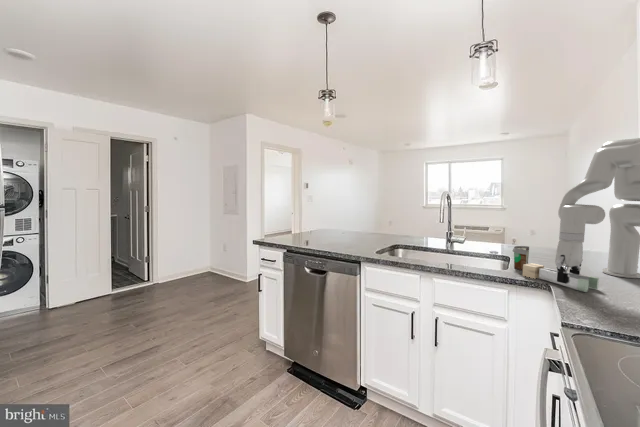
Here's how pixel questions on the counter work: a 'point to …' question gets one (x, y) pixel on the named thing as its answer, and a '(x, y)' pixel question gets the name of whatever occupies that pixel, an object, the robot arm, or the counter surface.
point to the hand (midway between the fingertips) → (568, 280)
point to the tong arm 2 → (592, 280)
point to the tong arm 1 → (571, 281)
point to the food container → (520, 256)
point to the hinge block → (531, 270)
